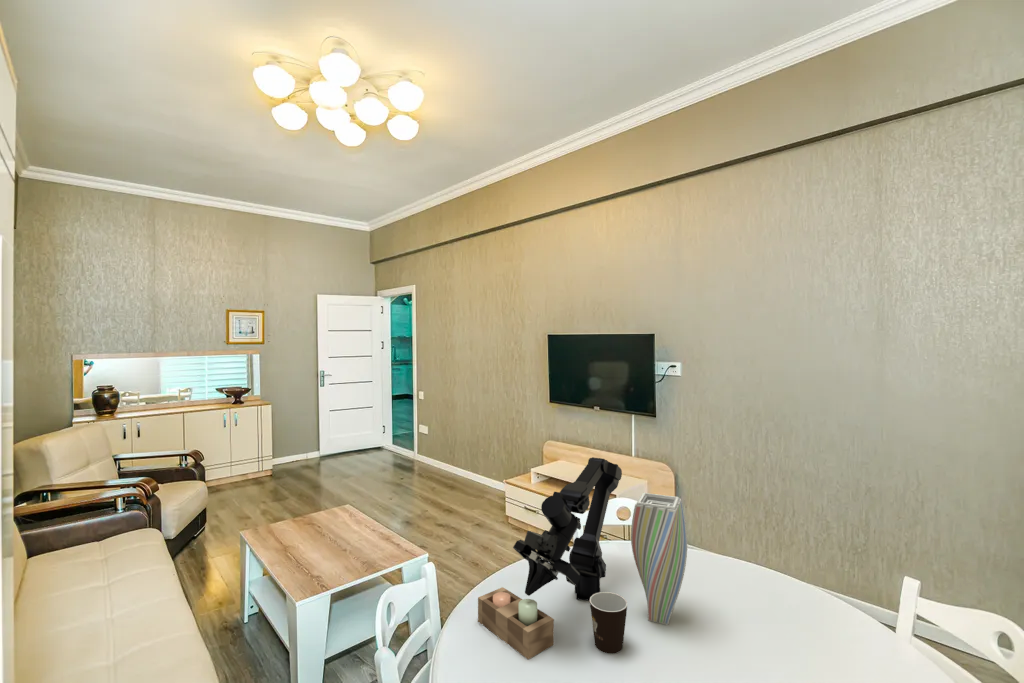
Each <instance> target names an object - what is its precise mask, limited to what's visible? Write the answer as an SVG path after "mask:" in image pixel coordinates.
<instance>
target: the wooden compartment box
mask: <svg viewBox="0 0 1024 683" xmlns="http://www.w3.org/2000/svg"><path fill="white" fill-rule="evenodd" d="M498 592H505V593H508V594H509V595H510V603H509V604H507V605H505V606H503V607H500V608H499V607H498V606H496V605H495V604H493V595H494V594H495V593H498ZM521 600H523V599H522V597H519V596H518V595H516V594H515V593H513V592H511V591H510V590H508V589H506V587H503V586H501V587H500V588H497V589H494V590H492V591H490V592H488V593H485V594H483V595H480V596H478V597H477V623H479V624H481V626H484V628H486V629H487V630H489V631H490V632H491V633H493V635H495V636H497V637H498V638H499V639H500V640H501V641H502V642H504V643H506V645H508V646H510V648H512V649H514V650H515V651H516V652H517V653H519V654H520V655H522V656H523V657H524V658H526V659H527V660H530V659H532V658H534V657H536V656H537V655H539V654H541V653H542V652H544V651H546V650H548V649H550V648H552V647H553V646H554V645H555V618H553V617H552V616H550V615H549V614H547V613H545V612H544V611H542V610H540V609H538V608H537V622H535V623H533V624H531V625H529V626H526V625H524V624H523V623H521V622H520V621H519V602H520V601H521Z"/></svg>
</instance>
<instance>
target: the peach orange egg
mask: <svg viewBox="0 0 1024 683" xmlns="http://www.w3.org/2000/svg"><path fill="white" fill-rule="evenodd" d="M509 603H510V595H509V594H508V593H505V592H498V593H495V594H494V595H493V604H495V605H496V606H498V607H499V608H500V607H503V606H505V605H507V604H509Z"/></svg>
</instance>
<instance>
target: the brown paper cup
mask: <svg viewBox="0 0 1024 683" xmlns="http://www.w3.org/2000/svg"><path fill="white" fill-rule="evenodd" d="M589 606H590V607H589V608H590V616H591V624H592V632H593V640H594V646H595V648H596V649H597V650H598V651H600V652H602V653H604V654H610V655H611V654H612V655H614V654H618V653H620V652H621V651H622V650H623V648H624V647H623V646H624V638H625V629H626V622H627V610H628V601H627V599H626V598H625V597H623V596H622V595H620V594H618V593H616V592H610V591H602V592H601V591H600V592H599V593H594V594H593V595H592V596H591V597H590V601H589Z"/></svg>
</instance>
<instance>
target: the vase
mask: <svg viewBox="0 0 1024 683" xmlns="http://www.w3.org/2000/svg"><path fill="white" fill-rule="evenodd" d="M686 524H687V523H686V519H685V512H684V506H683V502H682V498H680V497H679V496H674V495H673V496H672V495H664V494H656V493H649V492H643V493H642V494H641V496H639V499H638V500H637V501H636V503H635V504H634V509H633V514H632V519H631V529H630V531H631V532H630V544H631V550H632V551H631V552H632V555H633V559H634V562H635V566H636V569H637V572H638V576H639V578H640V580H641V584H642V587H643V589H644V593H645V597H646V598H645V599H646V603H647V605H646V606H647V621H648V622H649V621H650V622H653V623H657V624H663V625H666V626H669V623H670V619H671V617H672V613H673V612H674V608H675V605H676V603H677V601H678V597H679V594H680V591H681V588H682V585H683V580H684V576H685V571H686V566H687V557H688V536H687V535H688V533H687V525H686Z"/></svg>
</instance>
